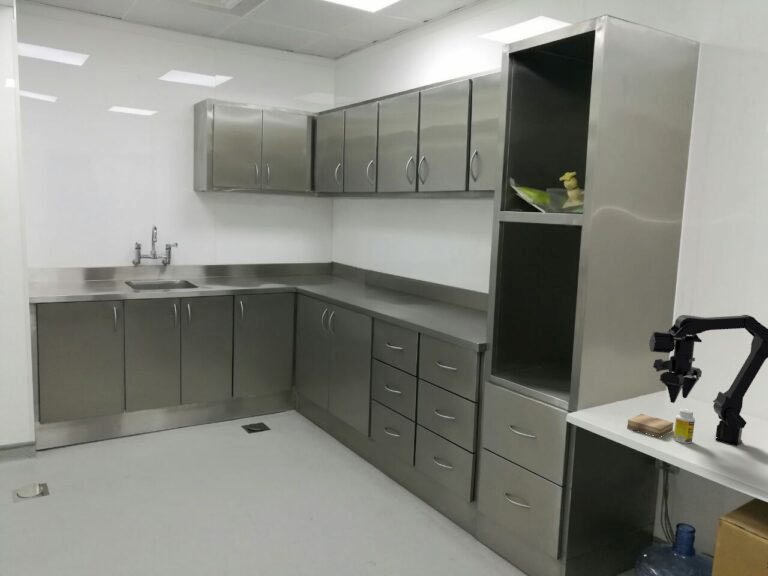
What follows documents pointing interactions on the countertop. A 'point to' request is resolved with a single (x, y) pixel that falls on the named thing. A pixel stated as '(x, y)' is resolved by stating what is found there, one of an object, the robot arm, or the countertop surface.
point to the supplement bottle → (684, 426)
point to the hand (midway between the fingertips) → (678, 400)
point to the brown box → (650, 425)
